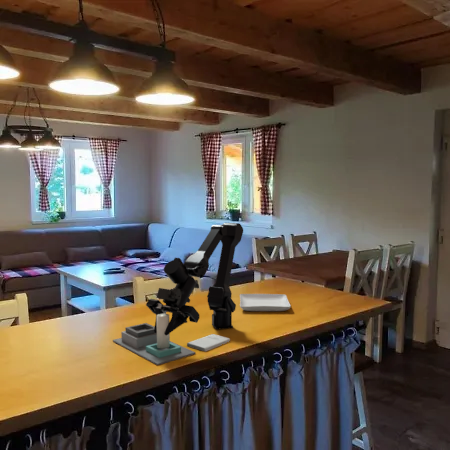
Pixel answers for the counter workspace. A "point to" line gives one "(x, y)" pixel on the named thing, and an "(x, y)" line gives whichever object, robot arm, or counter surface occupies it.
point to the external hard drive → (208, 342)
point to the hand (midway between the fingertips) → (160, 333)
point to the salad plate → (264, 302)
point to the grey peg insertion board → (150, 345)
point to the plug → (162, 331)
